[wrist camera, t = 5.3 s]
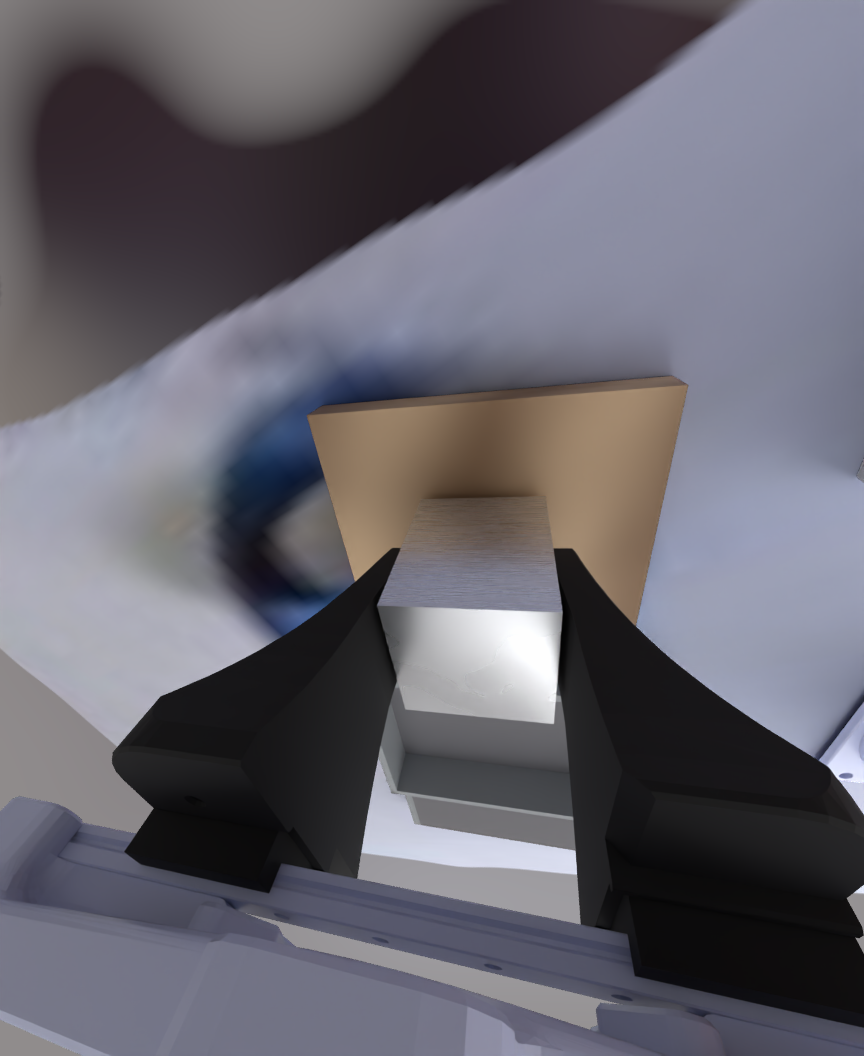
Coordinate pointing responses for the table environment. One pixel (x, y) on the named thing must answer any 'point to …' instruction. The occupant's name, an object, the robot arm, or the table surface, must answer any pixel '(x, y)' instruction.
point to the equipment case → (481, 773)
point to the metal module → (476, 609)
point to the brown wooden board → (511, 466)
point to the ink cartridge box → (861, 472)
